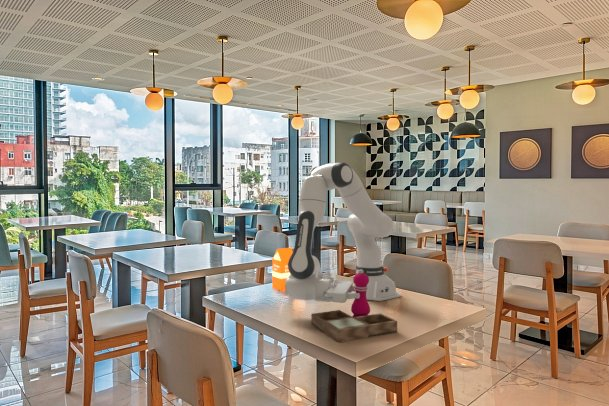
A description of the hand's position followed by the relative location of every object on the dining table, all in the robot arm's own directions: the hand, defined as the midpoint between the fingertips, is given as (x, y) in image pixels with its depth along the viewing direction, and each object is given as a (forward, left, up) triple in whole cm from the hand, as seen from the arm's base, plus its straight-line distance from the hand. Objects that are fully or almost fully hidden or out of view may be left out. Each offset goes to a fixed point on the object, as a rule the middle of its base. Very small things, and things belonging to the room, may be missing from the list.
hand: (361, 292), depth 168 cm
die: (-13, -64, -11) cm, 66 cm away
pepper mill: (0, 0, -11) cm, 11 cm away
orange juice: (+7, -59, -11) cm, 61 cm away
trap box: (+7, +6, -11) cm, 14 cm away
